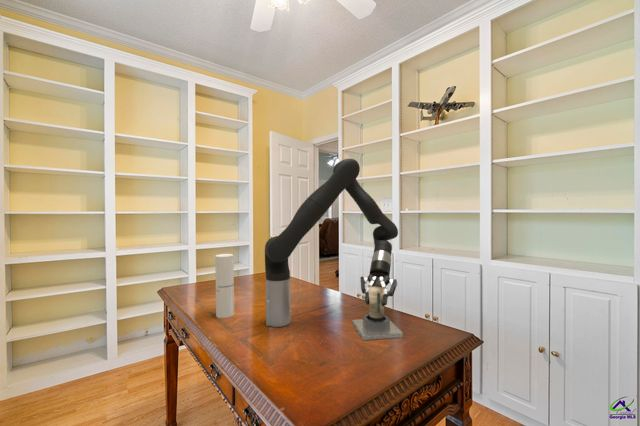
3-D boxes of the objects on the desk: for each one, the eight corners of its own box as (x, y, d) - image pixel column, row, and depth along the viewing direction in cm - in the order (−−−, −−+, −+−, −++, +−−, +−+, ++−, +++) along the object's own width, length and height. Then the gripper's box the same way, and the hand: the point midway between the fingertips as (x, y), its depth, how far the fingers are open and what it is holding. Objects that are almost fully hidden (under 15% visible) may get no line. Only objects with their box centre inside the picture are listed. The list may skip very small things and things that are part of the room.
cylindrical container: (228, 318, 118) (227, 256, 117) (212, 317, 119) (211, 256, 118) (237, 312, 125) (236, 254, 124) (221, 311, 126) (221, 253, 125)
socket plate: (363, 340, 98) (363, 327, 97) (352, 323, 111) (352, 312, 111) (402, 337, 100) (402, 324, 100) (387, 321, 113) (387, 309, 113)
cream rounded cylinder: (371, 318, 102) (371, 290, 102) (367, 313, 108) (366, 286, 107) (385, 317, 103) (385, 290, 103) (380, 312, 108) (380, 286, 108)
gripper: (361, 258, 115) (353, 297, 104) (398, 260, 109) (394, 301, 98) (364, 268, 120) (357, 307, 109) (400, 271, 114) (396, 312, 104)
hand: (375, 304), depth 104 cm, fingers closed on cream rounded cylinder, 5 cm apart
